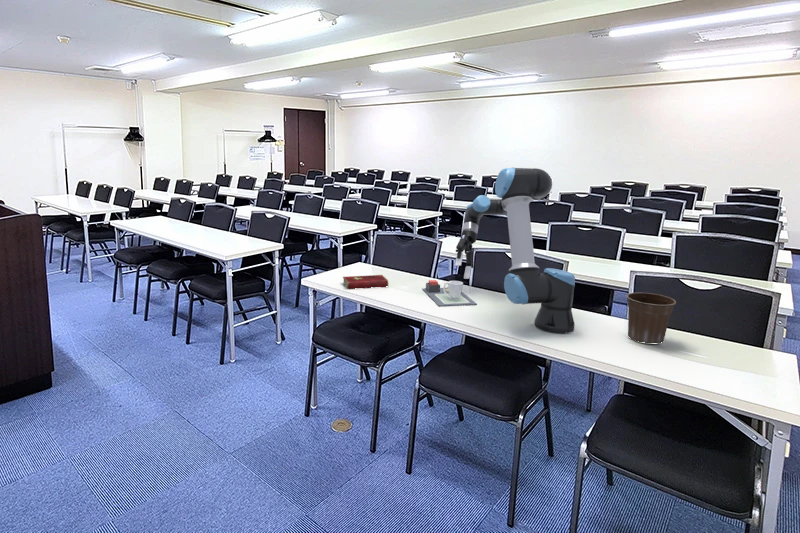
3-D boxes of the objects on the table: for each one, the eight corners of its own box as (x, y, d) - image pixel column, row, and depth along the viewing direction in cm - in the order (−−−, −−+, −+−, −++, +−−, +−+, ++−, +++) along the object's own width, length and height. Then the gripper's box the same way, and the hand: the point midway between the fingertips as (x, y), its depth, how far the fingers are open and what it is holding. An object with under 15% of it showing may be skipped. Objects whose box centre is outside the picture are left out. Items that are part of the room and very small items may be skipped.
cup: (456, 302, 217) (457, 285, 215) (438, 297, 223) (439, 281, 221) (465, 299, 222) (466, 282, 220) (447, 294, 228) (448, 278, 226)
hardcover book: (388, 288, 242) (388, 280, 241) (347, 290, 235) (347, 282, 234) (381, 282, 253) (382, 274, 252) (342, 284, 246) (342, 276, 245)
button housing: (439, 292, 233) (440, 285, 232) (428, 292, 232) (429, 285, 231) (436, 289, 238) (436, 282, 237) (425, 289, 237) (426, 282, 236)
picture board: (476, 305, 216) (477, 303, 216) (438, 306, 212) (438, 304, 212) (456, 288, 243) (456, 286, 243) (422, 289, 239) (422, 288, 239)
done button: (437, 287, 233) (437, 281, 232) (430, 288, 232) (430, 282, 232) (435, 285, 236) (435, 280, 236) (428, 286, 236) (428, 280, 235)
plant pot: (625, 344, 175) (631, 301, 171) (617, 329, 190) (623, 290, 186) (674, 349, 171) (681, 306, 167) (663, 334, 186) (669, 294, 182)
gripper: (469, 246, 245) (462, 283, 236) (454, 219, 225) (446, 259, 217) (483, 245, 242) (477, 283, 233) (469, 219, 222) (462, 259, 213)
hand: (462, 272), depth 225 cm, fingers open, 13 cm apart
